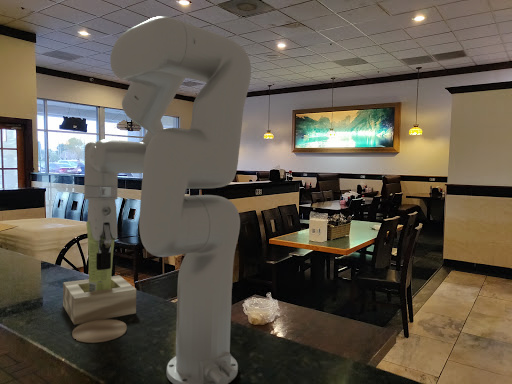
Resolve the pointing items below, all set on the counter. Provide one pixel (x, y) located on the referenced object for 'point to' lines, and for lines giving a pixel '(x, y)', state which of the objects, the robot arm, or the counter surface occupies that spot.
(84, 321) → the socket block
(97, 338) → the disc
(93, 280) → the tube
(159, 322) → the counter surface
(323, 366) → the counter surface
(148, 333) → the counter surface
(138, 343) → the counter surface
